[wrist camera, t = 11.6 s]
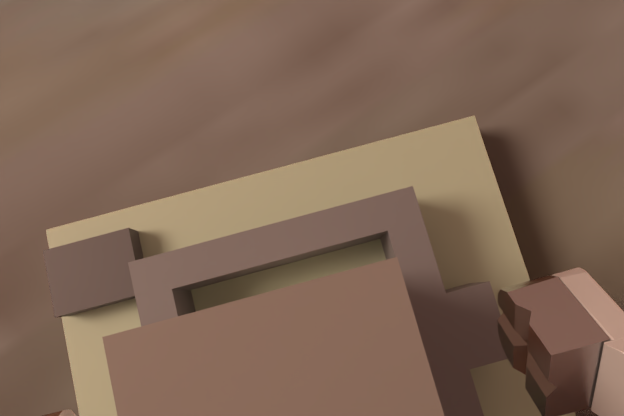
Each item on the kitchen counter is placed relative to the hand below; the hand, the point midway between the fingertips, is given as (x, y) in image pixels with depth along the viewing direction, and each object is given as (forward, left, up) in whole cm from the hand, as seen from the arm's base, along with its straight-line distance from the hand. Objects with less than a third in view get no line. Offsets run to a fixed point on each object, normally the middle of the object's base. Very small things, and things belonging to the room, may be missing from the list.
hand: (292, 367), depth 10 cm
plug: (0, -1, -6) cm, 6 cm away
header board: (0, -1, -7) cm, 7 cm away
